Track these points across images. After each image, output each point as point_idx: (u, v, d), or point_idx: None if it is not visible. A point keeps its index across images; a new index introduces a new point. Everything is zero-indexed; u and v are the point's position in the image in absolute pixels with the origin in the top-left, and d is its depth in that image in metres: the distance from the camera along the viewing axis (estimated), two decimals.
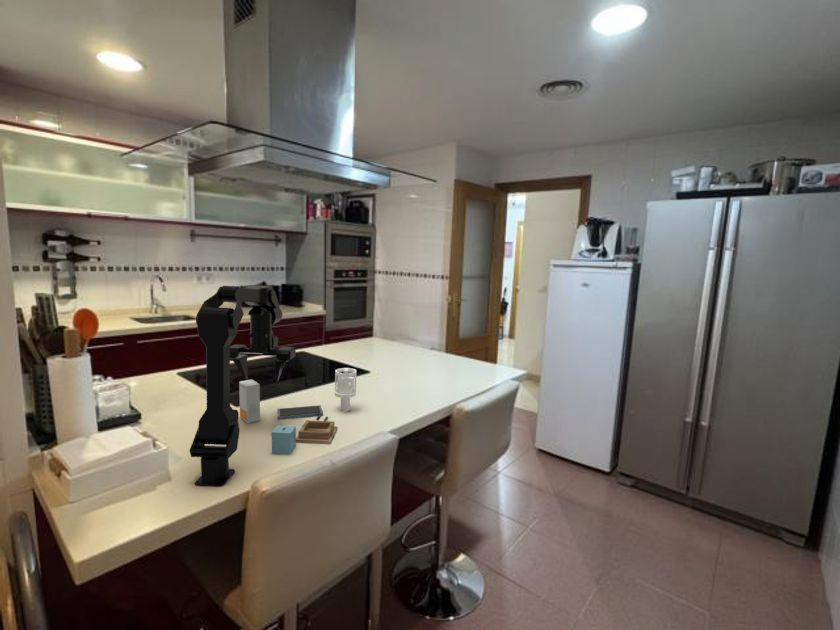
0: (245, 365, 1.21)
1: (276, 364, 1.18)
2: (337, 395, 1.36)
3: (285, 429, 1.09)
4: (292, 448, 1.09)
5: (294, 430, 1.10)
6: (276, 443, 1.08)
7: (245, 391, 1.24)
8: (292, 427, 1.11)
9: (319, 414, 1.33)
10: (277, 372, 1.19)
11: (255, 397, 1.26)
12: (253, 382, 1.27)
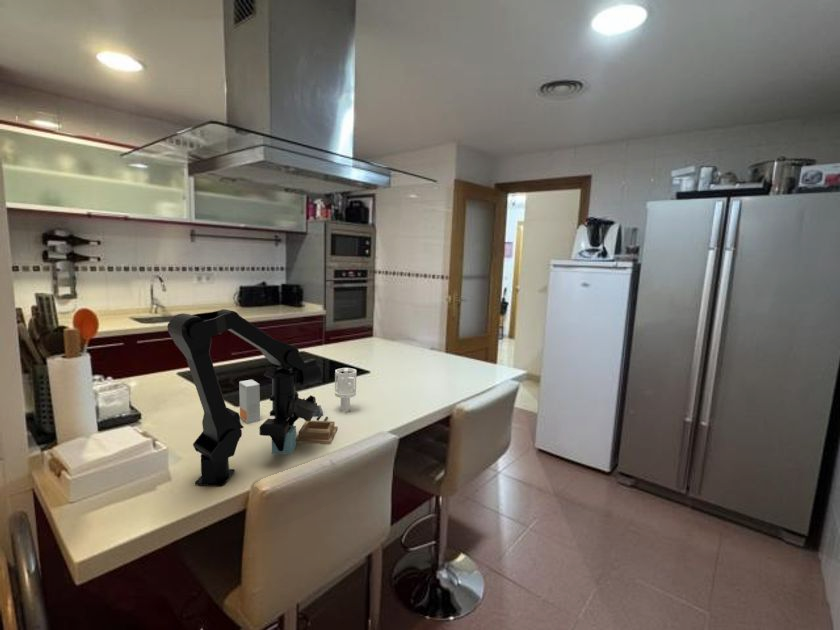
0: None
1: None
2: (337, 395, 1.36)
3: None
4: (292, 448, 1.09)
5: (294, 429, 1.10)
6: None
7: (245, 391, 1.24)
8: (292, 427, 1.11)
9: (319, 414, 1.33)
10: None
11: (255, 397, 1.26)
12: (253, 382, 1.27)
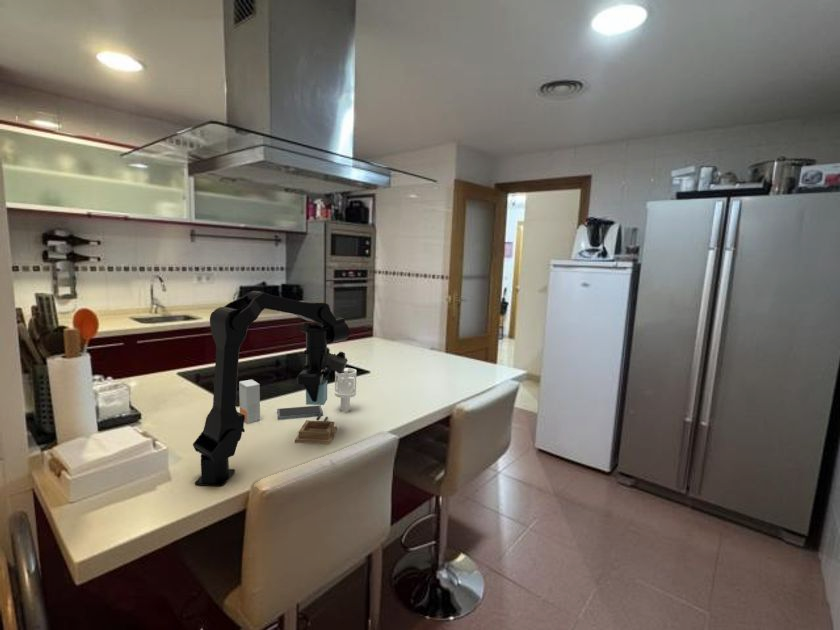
0: None
1: None
2: (337, 395, 1.36)
3: None
4: (325, 399, 1.17)
5: (326, 382, 1.18)
6: None
7: (245, 391, 1.24)
8: (324, 380, 1.18)
9: (319, 414, 1.33)
10: None
11: (255, 397, 1.26)
12: (253, 382, 1.27)
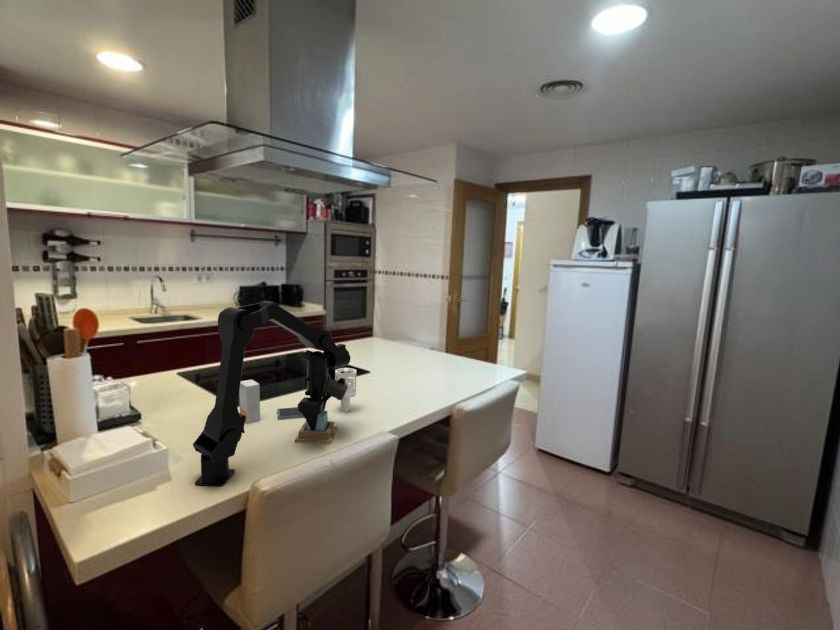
0: None
1: None
2: None
3: None
4: None
5: (326, 414, 1.20)
6: None
7: (245, 391, 1.24)
8: (324, 412, 1.20)
9: None
10: None
11: (255, 397, 1.26)
12: (253, 382, 1.27)
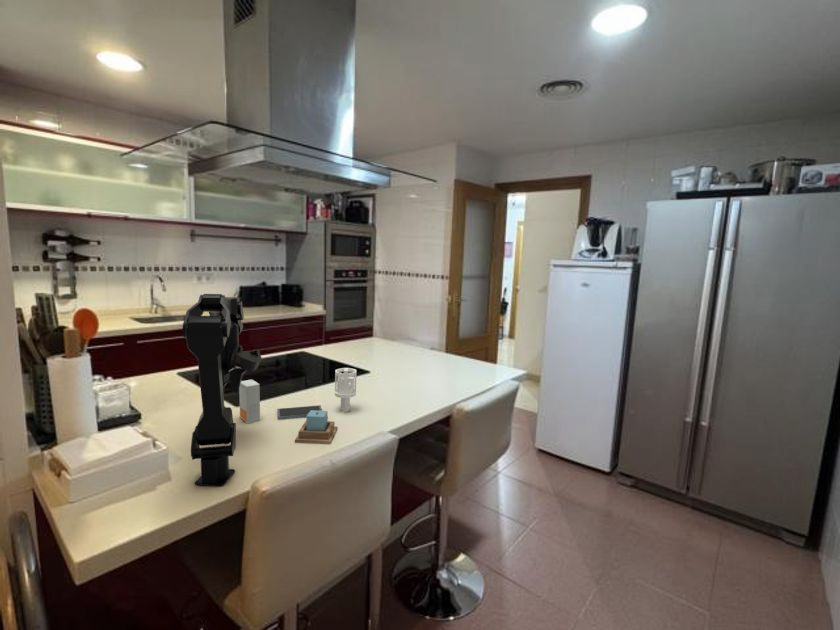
0: (237, 378, 1.17)
1: None
2: (337, 395, 1.36)
3: (318, 413, 1.18)
4: None
5: (326, 414, 1.20)
6: (310, 426, 1.17)
7: (245, 391, 1.24)
8: (324, 412, 1.20)
9: None
10: None
11: (255, 397, 1.26)
12: (253, 382, 1.27)
